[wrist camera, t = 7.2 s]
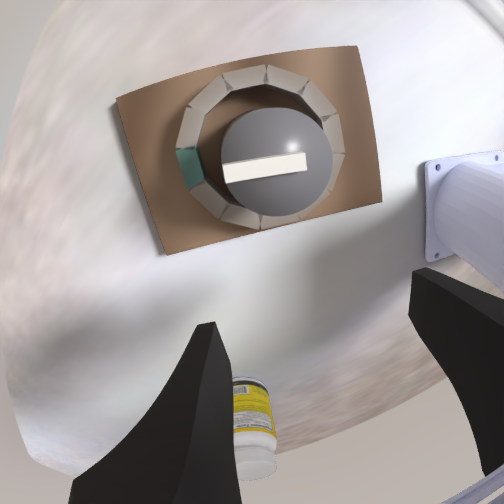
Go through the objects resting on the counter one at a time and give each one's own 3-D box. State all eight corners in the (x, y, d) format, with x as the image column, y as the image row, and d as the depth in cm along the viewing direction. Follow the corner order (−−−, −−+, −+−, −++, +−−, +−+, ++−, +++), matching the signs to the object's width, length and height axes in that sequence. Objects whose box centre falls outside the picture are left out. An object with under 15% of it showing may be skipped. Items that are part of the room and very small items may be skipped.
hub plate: (352, 47, 15) (368, 40, 12) (376, 198, 19) (394, 209, 17) (120, 98, 15) (105, 97, 13) (168, 250, 19) (162, 267, 17)
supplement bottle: (249, 411, 27) (258, 485, 20) (206, 398, 26) (206, 477, 18) (277, 384, 26) (294, 464, 18) (232, 368, 24) (239, 456, 17)
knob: (296, 104, 15) (330, 102, 10) (305, 180, 17) (339, 210, 13) (214, 115, 15) (212, 117, 10) (228, 193, 17) (233, 228, 12)
